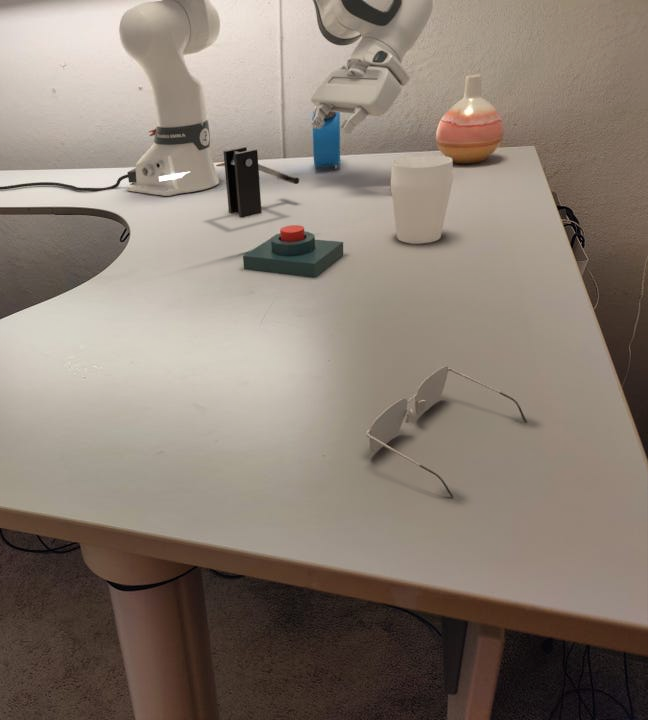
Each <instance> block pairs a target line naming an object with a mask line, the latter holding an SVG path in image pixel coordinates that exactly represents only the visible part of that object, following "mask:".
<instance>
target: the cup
mask: <svg viewBox="0 0 648 720" xmlns="http://www.w3.org/2000/svg"><path fill="white" fill-rule="evenodd" d="M453 163H454V162H453V159H452V158H450V157H447V156H445V155H440V154H419V155H409V156H404V157H399V158H397V159H394V160H393V161H392V163H391V175H390V189H391V190H390V191H391V192H390V193H391V199H392V207H393V216H394V223H395V225H394V226H395V231H396V238H397V240H399V242H403V243H406V244H412V245H413V244H414V245H418V244H419V245H421V244H429V243H433V242H437V241H439V240H440V239H441V237H442V233H443V228H444V223H445V220H446V215H447V210H448V206H449V205H448V204H449V200H450V194H451V190H452V185H453V180H454V177H453V176H454V175H453V174H454V173H453V169H454V168H453Z"/></svg>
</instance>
